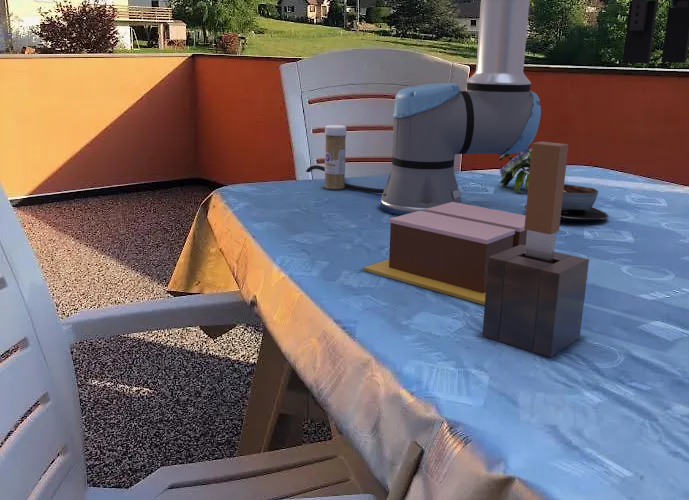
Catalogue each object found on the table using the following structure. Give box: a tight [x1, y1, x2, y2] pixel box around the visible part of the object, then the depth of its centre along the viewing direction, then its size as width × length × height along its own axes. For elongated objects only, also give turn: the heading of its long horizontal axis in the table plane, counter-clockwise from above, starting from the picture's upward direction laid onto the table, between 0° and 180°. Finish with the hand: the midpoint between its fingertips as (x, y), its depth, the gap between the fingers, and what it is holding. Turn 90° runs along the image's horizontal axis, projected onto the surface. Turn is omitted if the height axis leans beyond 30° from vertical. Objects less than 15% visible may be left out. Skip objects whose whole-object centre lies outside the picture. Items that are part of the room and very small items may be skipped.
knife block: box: [481, 245, 590, 359], centre depth 76 cm, size 8×7×9 cm
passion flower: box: [498, 147, 532, 195], centre depth 156 cm, size 11×11×12 cm
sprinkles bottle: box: [323, 124, 347, 191], centre depth 152 cm, size 5×5×14 cm
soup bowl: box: [524, 171, 609, 222], centre depth 131 cm, size 15×16×7 cm
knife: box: [524, 141, 569, 264], centre depth 74 cm, size 3×2×21 cm, turn 48°
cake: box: [363, 202, 527, 306], centre depth 98 cm, size 20×20×8 cm
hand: (655, 63), depth 83 cm, fingers open, 13 cm apart
